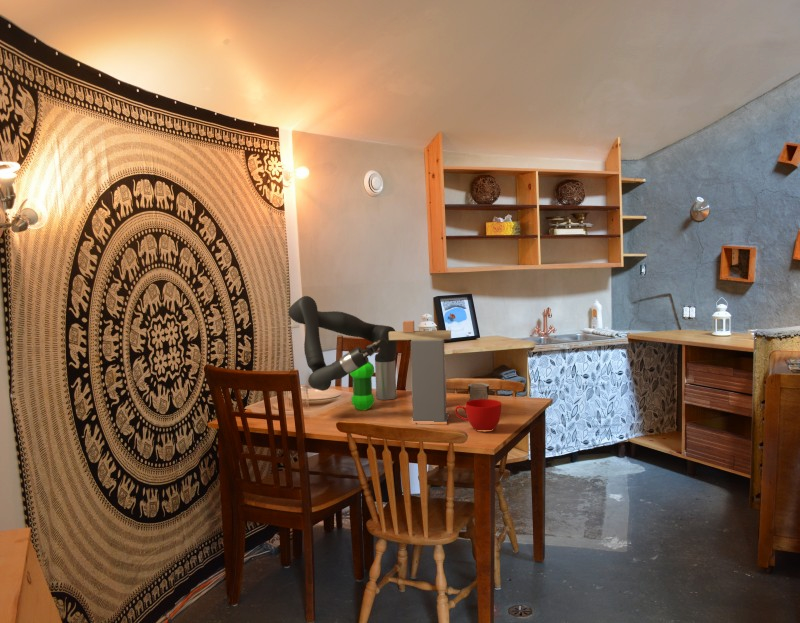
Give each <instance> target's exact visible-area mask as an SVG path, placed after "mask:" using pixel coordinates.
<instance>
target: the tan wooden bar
mask: <svg viewBox="0 0 800 623" xmlns="http://www.w3.org/2000/svg"><path fill="white" fill-rule="evenodd" d="M430 339H444V340H451V339H452V330H449V329H448V330H443V329H442V330H415V331H414V332H403V330H395V331H390V332H389V340H397V341H410V340H430Z"/></svg>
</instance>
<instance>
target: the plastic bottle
mask: <svg viewBox="0 0 800 623" xmlns="http://www.w3.org/2000/svg"><path fill="white" fill-rule="evenodd" d="M374 374H375V365H374V364H373V363H372V362H370V361H369V362H368V363H367V364H365V365H364V366H362V367H360V368H359V369H357V370H355V371H354V372H351V373H349V376H351V378H352V392H353V394H352V396H351V404H352V405H353V407H354V408H356V409H357V410H359V411H365V410H370V408H371V407H372V406H373V404H374V403H375V396H374V394H373V386H372V385H373V383H372V382H373V381H372V377H373V376H374Z"/></svg>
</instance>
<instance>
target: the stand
mask: <svg viewBox="0 0 800 623" xmlns="http://www.w3.org/2000/svg"><path fill="white" fill-rule="evenodd" d="M410 357H411V358H410V366H411V368H410V369H412V374H411V402H412V401H413V406H412V417H411V419H412V418H413V421H434V422H447V423H448V421H447V419H448V420H449V416H448V414H449V412H447V404H446V400H447V394H446V395H445V358H446V357H445V339H430V340H411V341H410ZM449 415H450V414H449Z"/></svg>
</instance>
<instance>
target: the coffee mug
mask: <svg viewBox="0 0 800 623" xmlns="http://www.w3.org/2000/svg"><path fill="white" fill-rule="evenodd" d="M474 384H482V385H485V386H486V388H487V395H488V396H489V393H490V392H489V391H490V384H488V383H483V382H473V383H469V384H468V385H467V386H468V388H467V391H468V393H469V395H470V389H471V386H472V385H474Z"/></svg>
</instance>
